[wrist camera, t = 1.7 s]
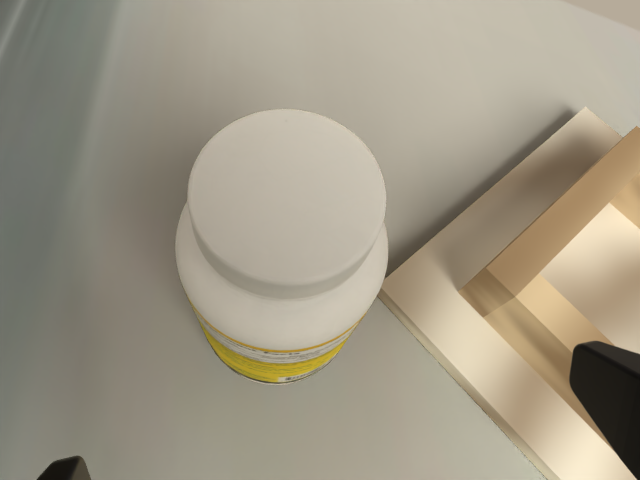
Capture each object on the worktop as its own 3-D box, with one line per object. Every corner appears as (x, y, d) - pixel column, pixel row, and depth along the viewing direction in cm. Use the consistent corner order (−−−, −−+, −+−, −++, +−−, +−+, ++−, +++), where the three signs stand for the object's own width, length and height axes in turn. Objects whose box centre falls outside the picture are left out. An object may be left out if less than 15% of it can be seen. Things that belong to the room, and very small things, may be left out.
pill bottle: (256, 224, 23) (253, 44, 13) (371, 293, 22) (462, 157, 12) (173, 336, 21) (91, 219, 11) (299, 418, 20) (339, 374, 10)
